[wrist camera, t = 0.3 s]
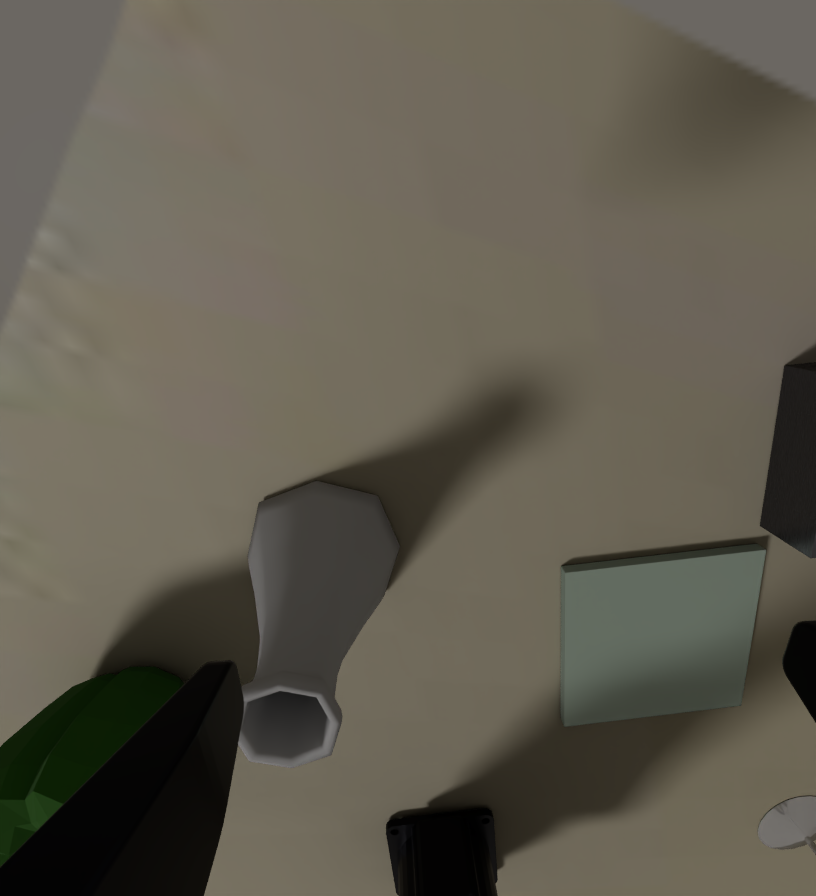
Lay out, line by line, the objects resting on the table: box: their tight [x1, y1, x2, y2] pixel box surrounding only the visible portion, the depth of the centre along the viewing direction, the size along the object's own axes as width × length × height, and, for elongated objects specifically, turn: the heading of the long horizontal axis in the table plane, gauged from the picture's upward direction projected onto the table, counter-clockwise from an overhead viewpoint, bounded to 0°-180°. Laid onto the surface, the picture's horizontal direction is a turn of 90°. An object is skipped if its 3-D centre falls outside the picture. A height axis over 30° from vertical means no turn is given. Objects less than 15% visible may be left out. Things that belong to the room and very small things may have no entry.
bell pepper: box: [0, 667, 184, 867], centre depth 21 cm, size 8×8×10 cm
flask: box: [238, 481, 400, 768], centre depth 18 cm, size 7×7×10 cm
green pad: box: [561, 544, 766, 727], centre depth 26 cm, size 10×10×1 cm
